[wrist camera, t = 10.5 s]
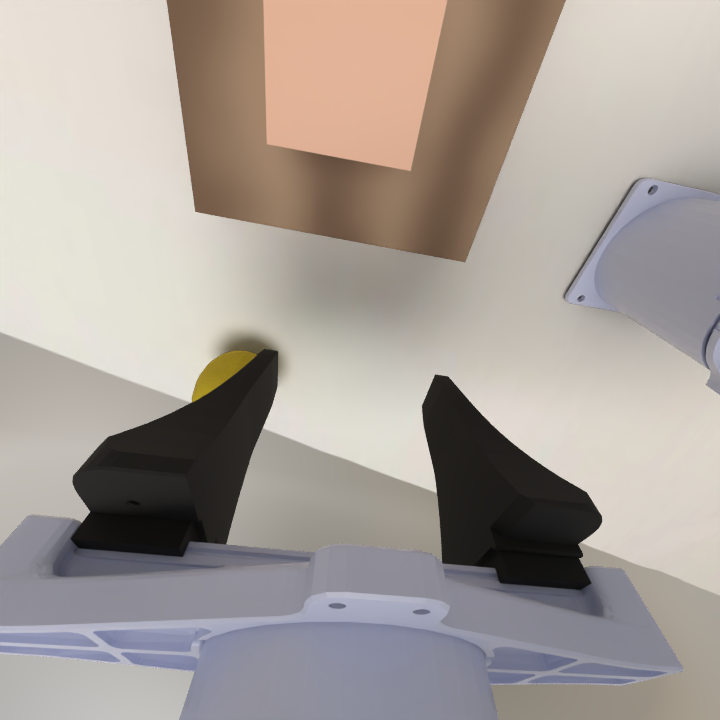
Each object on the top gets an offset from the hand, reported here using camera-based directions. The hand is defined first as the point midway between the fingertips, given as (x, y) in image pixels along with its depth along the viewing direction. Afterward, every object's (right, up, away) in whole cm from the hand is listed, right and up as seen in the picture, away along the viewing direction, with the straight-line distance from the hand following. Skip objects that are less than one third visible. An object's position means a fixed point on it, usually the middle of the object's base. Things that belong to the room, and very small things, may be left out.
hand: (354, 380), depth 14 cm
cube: (0, +13, 0) cm, 13 cm away
